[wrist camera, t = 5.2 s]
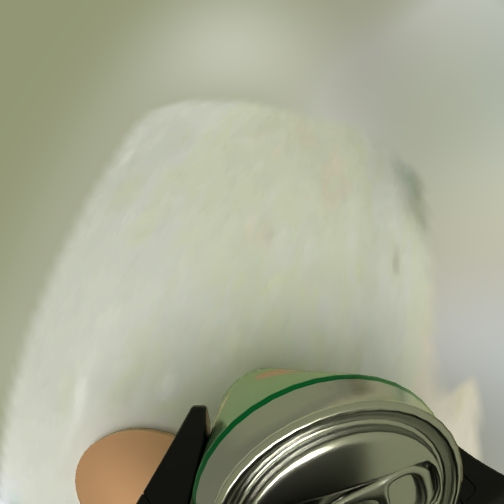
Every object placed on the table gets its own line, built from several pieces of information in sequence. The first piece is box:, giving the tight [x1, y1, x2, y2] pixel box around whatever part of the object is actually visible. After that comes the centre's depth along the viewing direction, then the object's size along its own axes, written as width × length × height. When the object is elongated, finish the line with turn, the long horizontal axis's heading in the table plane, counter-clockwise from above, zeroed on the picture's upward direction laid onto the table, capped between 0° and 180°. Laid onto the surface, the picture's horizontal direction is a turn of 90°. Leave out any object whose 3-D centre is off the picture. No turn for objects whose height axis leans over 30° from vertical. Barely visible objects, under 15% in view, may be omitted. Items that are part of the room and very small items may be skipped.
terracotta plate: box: [75, 428, 176, 504], centre depth 17 cm, size 12×12×2 cm
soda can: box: [192, 368, 463, 504], centre depth 9 cm, size 5×5×12 cm
